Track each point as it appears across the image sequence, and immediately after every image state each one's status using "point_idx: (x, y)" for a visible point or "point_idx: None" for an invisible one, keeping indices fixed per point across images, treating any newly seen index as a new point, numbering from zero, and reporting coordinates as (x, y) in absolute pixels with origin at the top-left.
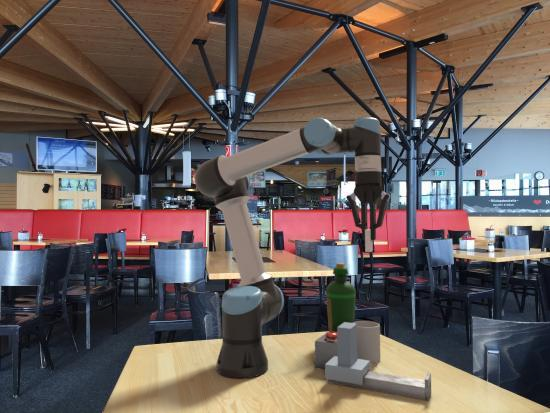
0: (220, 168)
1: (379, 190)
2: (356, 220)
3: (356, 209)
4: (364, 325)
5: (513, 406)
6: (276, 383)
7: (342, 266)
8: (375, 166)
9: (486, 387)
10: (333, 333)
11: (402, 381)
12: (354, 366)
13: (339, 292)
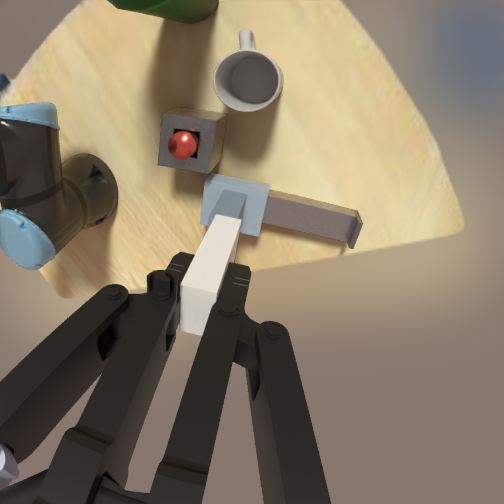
0: None
1: None
2: (103, 355)
3: (54, 401)
4: (241, 53)
5: (440, 232)
6: (146, 222)
7: None
8: None
9: (435, 179)
10: (184, 146)
11: (319, 227)
12: (245, 223)
13: (144, 7)
